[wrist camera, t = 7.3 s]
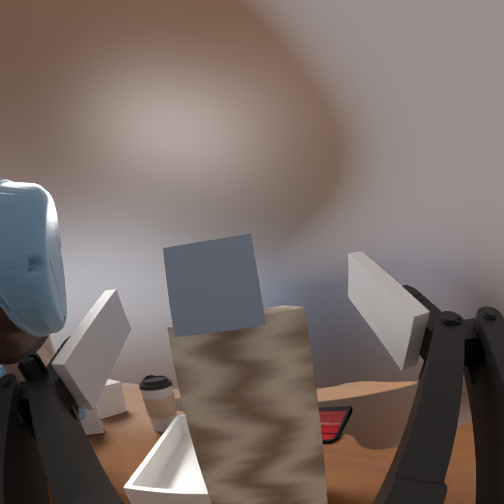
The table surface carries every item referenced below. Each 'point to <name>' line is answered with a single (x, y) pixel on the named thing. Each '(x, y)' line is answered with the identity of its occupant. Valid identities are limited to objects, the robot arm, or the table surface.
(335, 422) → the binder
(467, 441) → the table surface
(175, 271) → the block
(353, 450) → the table surface
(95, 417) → the skincare box
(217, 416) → the beige tall box
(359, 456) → the table surface
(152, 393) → the coffee cup
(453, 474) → the table surface
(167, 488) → the tray
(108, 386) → the stack of papers
